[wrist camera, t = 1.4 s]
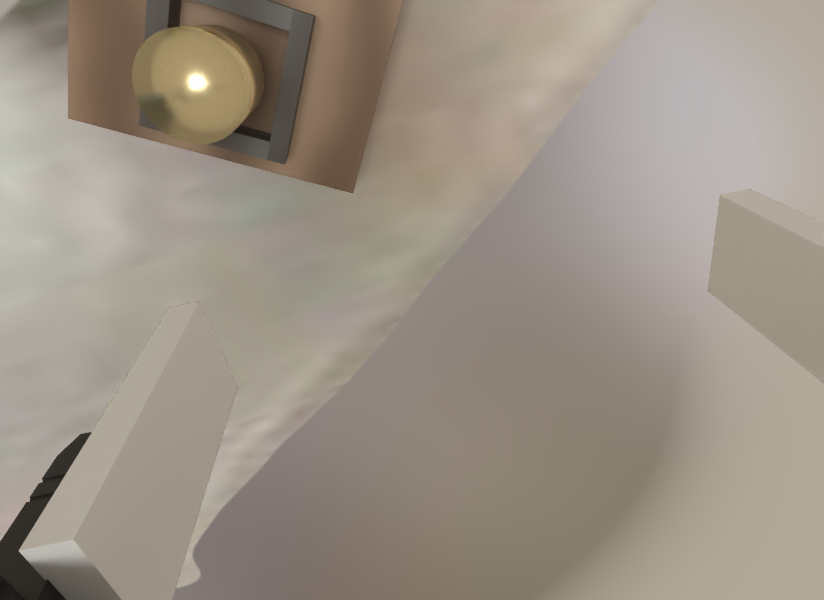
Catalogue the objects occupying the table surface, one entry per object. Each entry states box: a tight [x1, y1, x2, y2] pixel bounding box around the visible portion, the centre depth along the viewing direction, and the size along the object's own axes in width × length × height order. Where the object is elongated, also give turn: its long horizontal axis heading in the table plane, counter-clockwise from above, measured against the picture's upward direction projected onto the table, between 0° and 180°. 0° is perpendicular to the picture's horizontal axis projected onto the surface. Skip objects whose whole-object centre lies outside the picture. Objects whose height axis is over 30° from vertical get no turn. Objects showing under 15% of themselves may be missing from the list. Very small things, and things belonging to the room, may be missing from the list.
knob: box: [132, 24, 265, 144], centre depth 23 cm, size 4×4×5 cm
